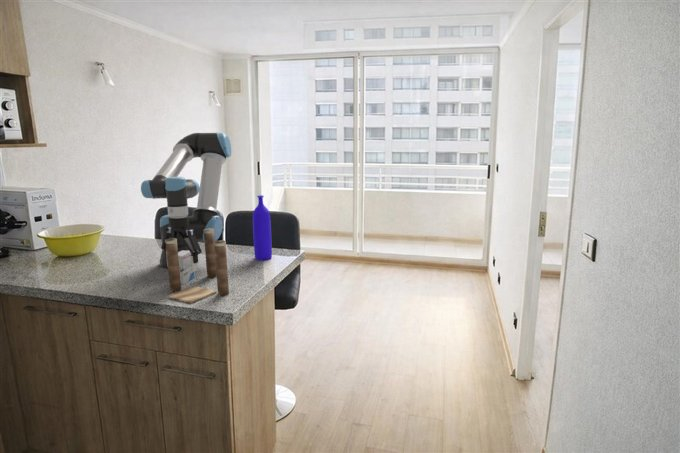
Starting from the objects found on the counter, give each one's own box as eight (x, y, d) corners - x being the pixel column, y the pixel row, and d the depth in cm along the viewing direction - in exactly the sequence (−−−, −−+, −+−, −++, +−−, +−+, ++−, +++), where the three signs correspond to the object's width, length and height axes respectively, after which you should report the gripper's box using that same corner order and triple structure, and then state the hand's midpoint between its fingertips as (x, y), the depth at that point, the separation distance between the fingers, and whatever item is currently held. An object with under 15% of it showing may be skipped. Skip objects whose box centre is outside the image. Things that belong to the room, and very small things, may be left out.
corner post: (215, 294, 164) (211, 242, 159) (223, 291, 167) (219, 239, 163) (223, 296, 162) (220, 243, 157) (231, 293, 165) (228, 241, 161)
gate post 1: (167, 291, 168) (162, 240, 164) (176, 287, 171) (171, 237, 167) (175, 293, 166) (170, 241, 162) (183, 289, 169) (179, 238, 165)
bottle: (255, 256, 215) (252, 194, 208) (272, 255, 215) (270, 194, 209) (253, 260, 207) (250, 197, 200) (271, 260, 207) (268, 196, 201)
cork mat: (168, 298, 161) (167, 296, 161) (193, 288, 171) (193, 286, 171) (191, 303, 155) (191, 301, 155) (216, 293, 165) (216, 291, 165)
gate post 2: (204, 277, 184) (201, 230, 180) (212, 274, 188) (208, 228, 183) (212, 278, 182) (208, 231, 178) (219, 275, 186) (216, 229, 182)
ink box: (184, 277, 184) (181, 249, 182) (195, 277, 183) (193, 250, 181) (172, 284, 176) (169, 255, 174) (184, 284, 175) (181, 256, 173)
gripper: (149, 215, 177) (153, 267, 181) (193, 220, 165) (197, 275, 169) (164, 213, 183) (168, 262, 187) (208, 217, 171) (212, 270, 175)
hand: (182, 268), depth 178 cm, fingers open, 13 cm apart
